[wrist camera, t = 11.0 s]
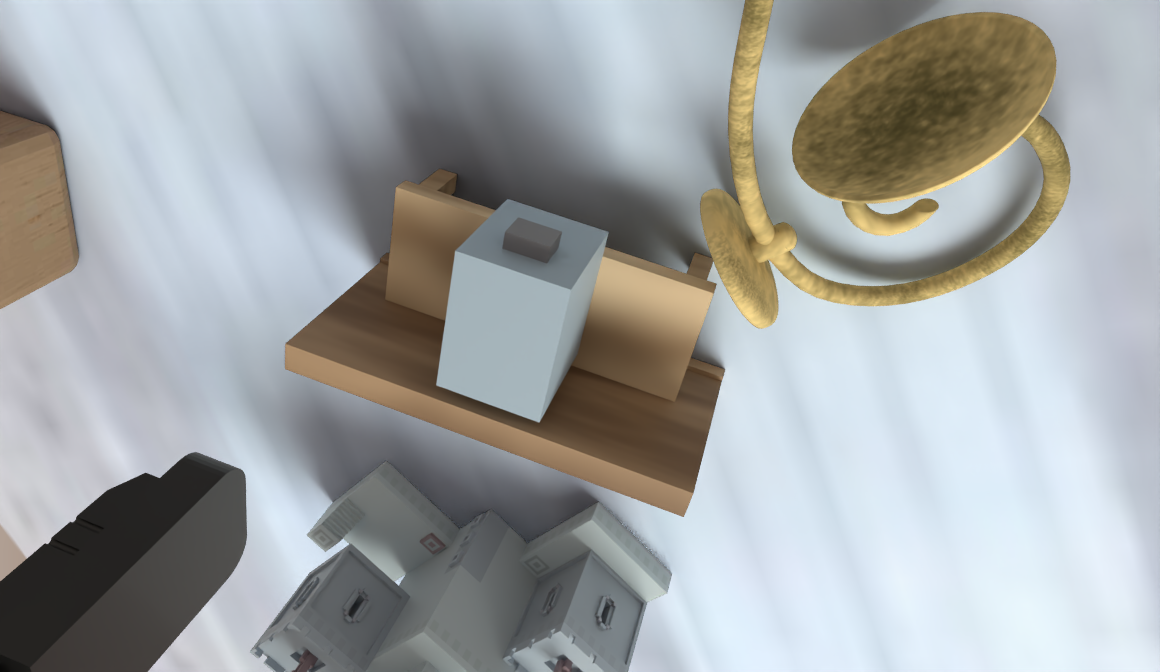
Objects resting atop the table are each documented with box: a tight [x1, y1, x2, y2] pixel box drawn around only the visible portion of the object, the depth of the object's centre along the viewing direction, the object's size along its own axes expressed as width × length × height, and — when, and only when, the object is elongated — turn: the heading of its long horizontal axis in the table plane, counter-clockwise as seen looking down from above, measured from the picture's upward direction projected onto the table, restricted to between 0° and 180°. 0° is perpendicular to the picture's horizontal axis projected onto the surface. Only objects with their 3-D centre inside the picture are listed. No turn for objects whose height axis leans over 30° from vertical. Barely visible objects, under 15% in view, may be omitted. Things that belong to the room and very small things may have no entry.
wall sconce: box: [700, 0, 1070, 329], centre depth 30 cm, size 14×10×25 cm
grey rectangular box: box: [436, 199, 609, 422], centre depth 37 cm, size 8×5×6 cm, turn 167°
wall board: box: [285, 169, 725, 517], centre depth 41 cm, size 11×20×10 cm, turn 77°
